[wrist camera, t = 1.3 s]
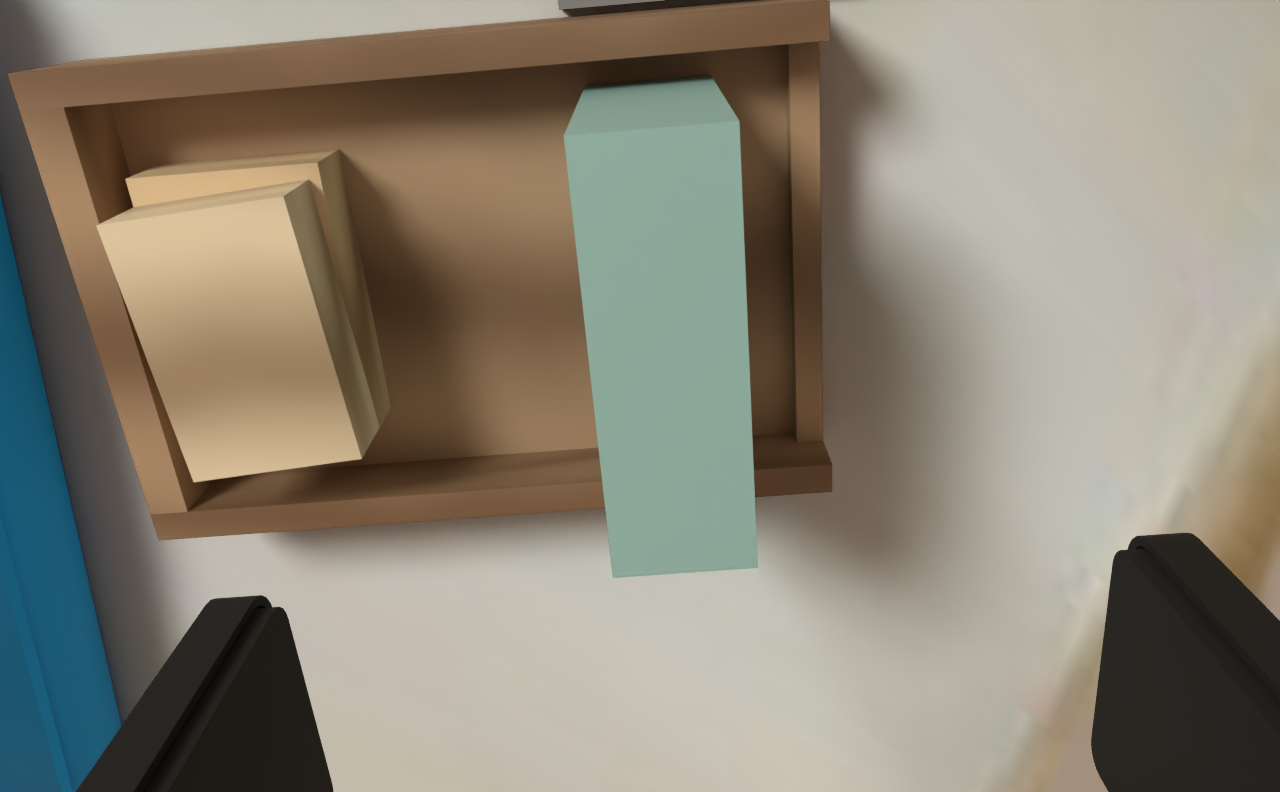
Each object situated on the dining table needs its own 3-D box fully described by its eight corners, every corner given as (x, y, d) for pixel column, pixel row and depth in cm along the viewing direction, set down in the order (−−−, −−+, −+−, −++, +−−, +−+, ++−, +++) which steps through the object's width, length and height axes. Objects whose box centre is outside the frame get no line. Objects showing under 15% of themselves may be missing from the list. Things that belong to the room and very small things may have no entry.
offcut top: (134, 206, 23) (95, 225, 22) (308, 179, 23) (283, 196, 21) (221, 448, 26) (193, 482, 24) (379, 426, 25) (361, 458, 24)
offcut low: (159, 164, 25) (125, 179, 23) (338, 148, 24) (317, 162, 23) (229, 419, 27) (203, 449, 26) (391, 407, 27) (375, 435, 26)
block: (585, 85, 24) (563, 136, 17) (710, 74, 24) (739, 120, 17) (619, 423, 27) (612, 577, 21) (727, 414, 27) (757, 567, 20)
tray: (82, 60, 25) (7, 73, 22) (806, -4, 24) (829, 1, 21) (206, 482, 30) (158, 540, 27) (812, 437, 29) (832, 491, 26)
